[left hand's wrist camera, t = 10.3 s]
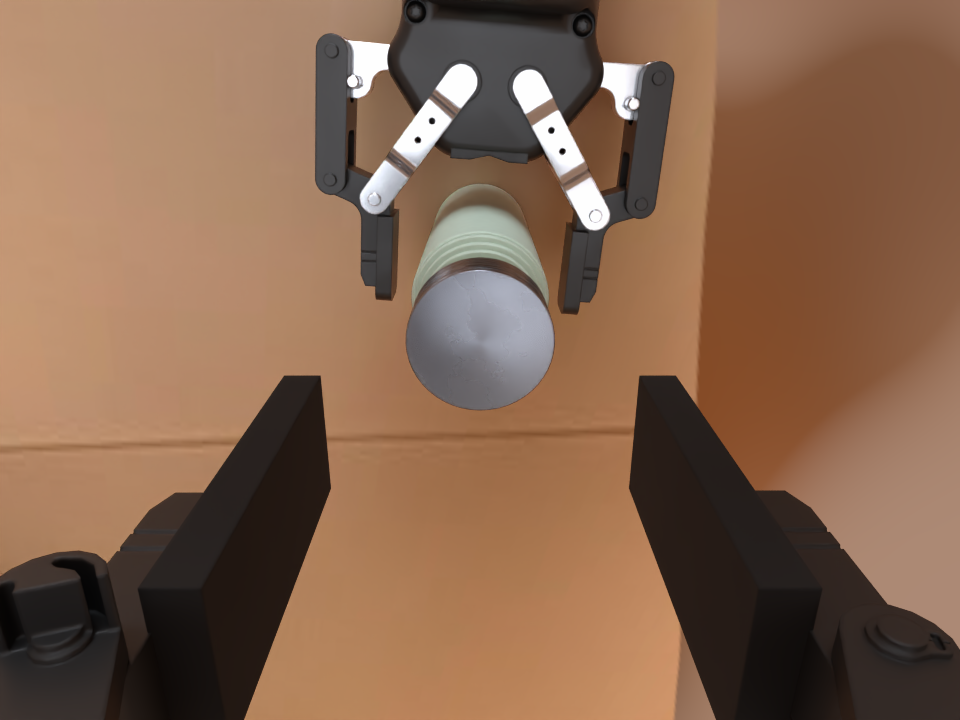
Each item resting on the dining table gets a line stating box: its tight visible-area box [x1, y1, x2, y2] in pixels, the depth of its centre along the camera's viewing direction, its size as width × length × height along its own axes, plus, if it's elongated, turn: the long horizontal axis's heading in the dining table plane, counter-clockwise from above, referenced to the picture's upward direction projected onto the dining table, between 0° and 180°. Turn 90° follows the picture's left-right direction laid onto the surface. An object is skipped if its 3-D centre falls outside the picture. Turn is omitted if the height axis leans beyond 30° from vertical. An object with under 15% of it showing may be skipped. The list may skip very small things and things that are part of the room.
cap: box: [406, 257, 555, 410], centre depth 21 cm, size 4×4×2 cm
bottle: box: [412, 184, 549, 308], centre depth 28 cm, size 5×5×17 cm
